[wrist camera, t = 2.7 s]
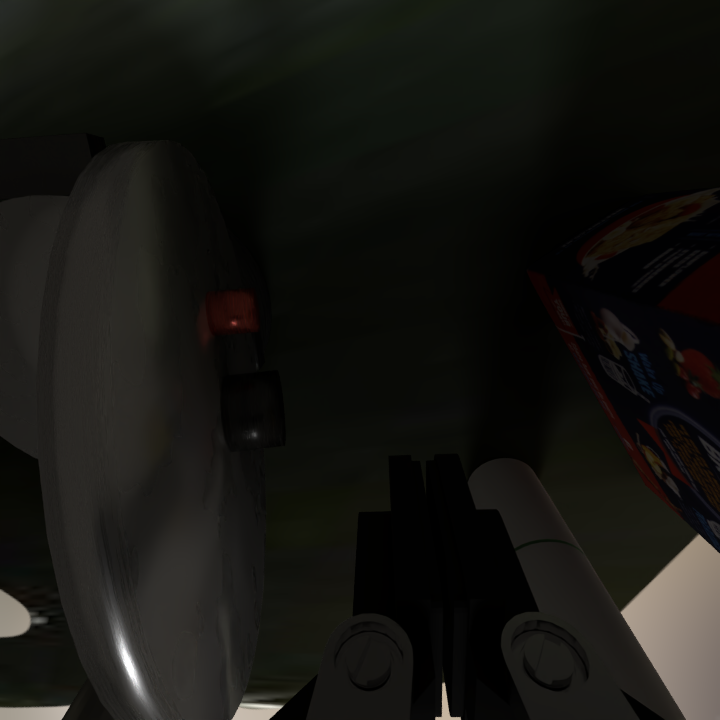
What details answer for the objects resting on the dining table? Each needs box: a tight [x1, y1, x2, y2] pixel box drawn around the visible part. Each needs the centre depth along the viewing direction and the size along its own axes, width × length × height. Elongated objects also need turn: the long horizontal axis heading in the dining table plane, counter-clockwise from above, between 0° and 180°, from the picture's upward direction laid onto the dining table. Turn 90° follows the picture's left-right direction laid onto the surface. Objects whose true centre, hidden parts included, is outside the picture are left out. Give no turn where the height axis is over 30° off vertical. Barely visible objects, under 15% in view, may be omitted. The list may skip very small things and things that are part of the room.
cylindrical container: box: [468, 458, 686, 720], centre depth 30 cm, size 7×7×25 cm
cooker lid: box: [36, 140, 286, 720], centre depth 16 cm, size 19×19×3 cm
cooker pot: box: [0, 133, 272, 459], centre depth 31 cm, size 24×20×12 cm
